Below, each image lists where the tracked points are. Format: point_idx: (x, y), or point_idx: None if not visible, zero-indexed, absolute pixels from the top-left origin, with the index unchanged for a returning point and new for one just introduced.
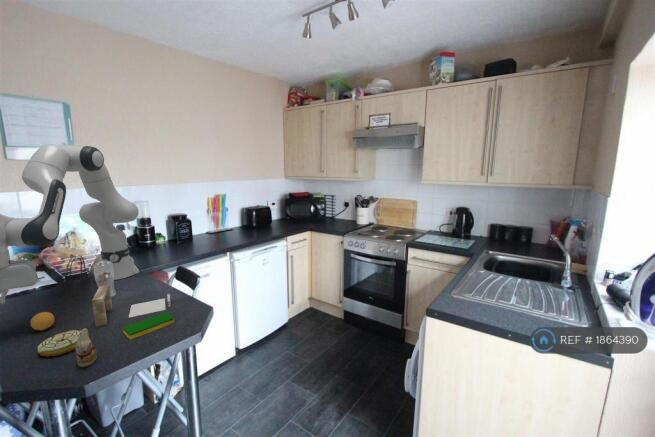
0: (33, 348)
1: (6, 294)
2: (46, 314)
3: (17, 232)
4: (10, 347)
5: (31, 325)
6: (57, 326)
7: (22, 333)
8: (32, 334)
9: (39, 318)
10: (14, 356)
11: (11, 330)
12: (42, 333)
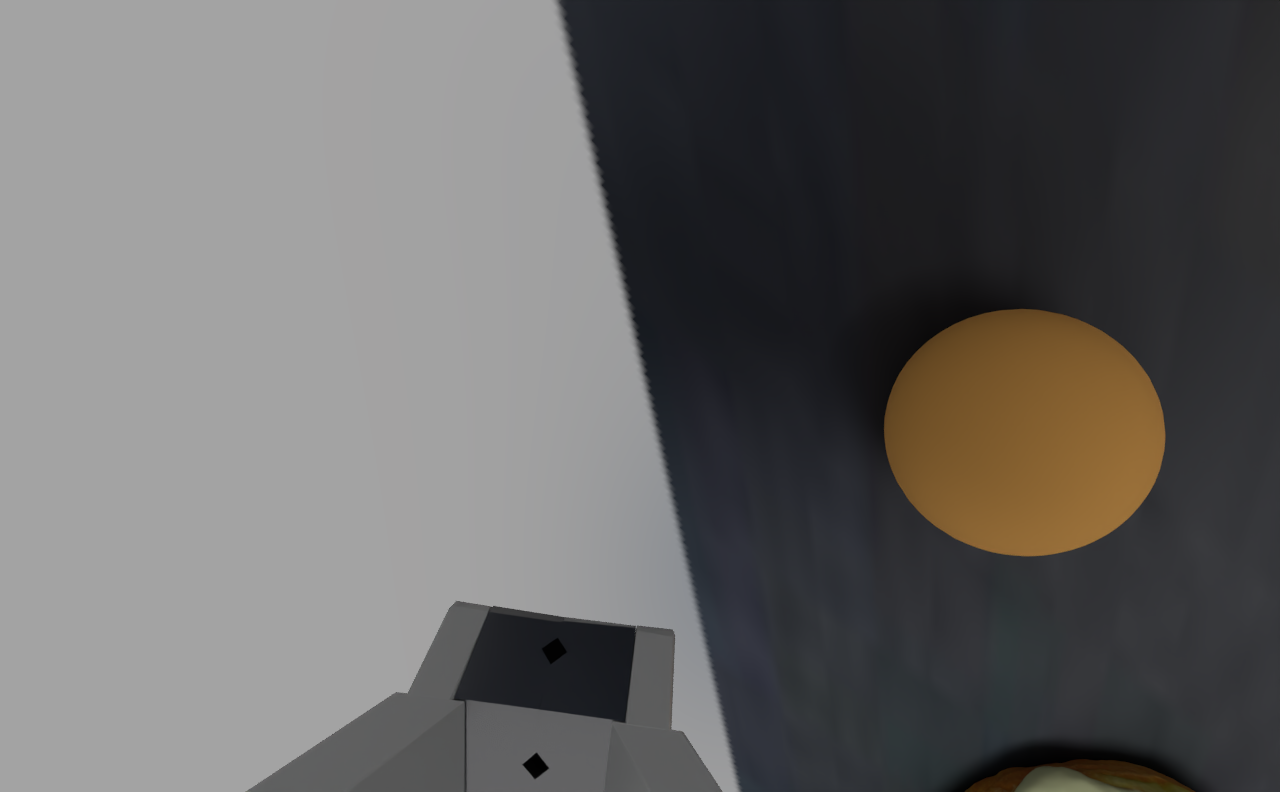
0: (886, 728)
1: (715, 781)
2: (1114, 527)
3: None
4: (727, 607)
5: (896, 478)
6: None
7: (775, 353)
8: (867, 448)
9: (1016, 555)
10: (780, 762)
11: (649, 164)
12: None
